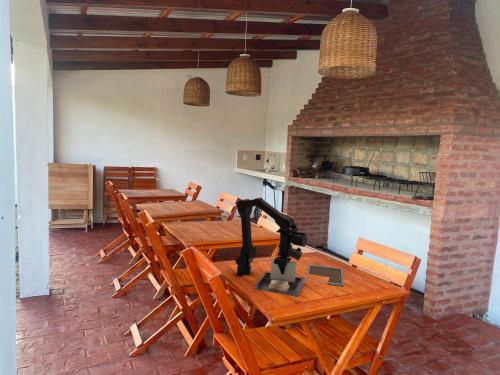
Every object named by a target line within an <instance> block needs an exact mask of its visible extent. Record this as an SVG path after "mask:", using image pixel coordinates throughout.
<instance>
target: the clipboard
mask: <svg viewBox="0 0 500 375" xmlns="http://www.w3.org/2000/svg"><path fill="white" fill-rule="evenodd" d="M309 275H312V276H317V277H325V278H328V281H323V280H315V279H309ZM339 276H340V277H339ZM339 278H340V279H339ZM305 280H306V281H310V282H319V283H324V284H325V283H326V284H327V286H332V287H333V286H334V287H341V288H342V287H343V288H345V281H344V280H345V279H344V269H343V268H342V267H333V266H327V265H318V264H308V266H307V271H306V276H305Z"/></svg>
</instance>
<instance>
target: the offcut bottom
mask: <svg viewBox="0 0 500 375" xmlns="http://www.w3.org/2000/svg"><path fill="white" fill-rule="evenodd" d="M270 284H271V283H270ZM289 287H290V285H288V287H287V288H284V287H276V286H270V285H269V289H275V290H281V291H286V292H287V291H288V290H289Z"/></svg>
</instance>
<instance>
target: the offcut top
mask: <svg viewBox="0 0 500 375" xmlns="http://www.w3.org/2000/svg"><path fill="white" fill-rule="evenodd" d="M270 286H276V287H284V288H287V287H288V282H287V281H279V280H271V284H270Z"/></svg>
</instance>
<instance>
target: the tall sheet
mask: <svg viewBox="0 0 500 375" xmlns="http://www.w3.org/2000/svg"><path fill="white" fill-rule="evenodd" d="M274 259H275V258H271V263H270V264H271V266H270V273H271V275H270V278H271V279H277V280H283V281H289V282H295V277H296V276H297V275H296V273H297V262H296V261H291V260H290V261H288V262H289V263H288V264H287V265H286V267H285V271H284V275H282V274H281V272H280V269H279V267H278V264H274Z"/></svg>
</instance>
